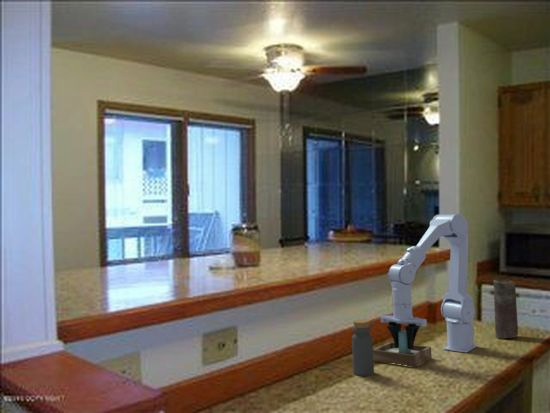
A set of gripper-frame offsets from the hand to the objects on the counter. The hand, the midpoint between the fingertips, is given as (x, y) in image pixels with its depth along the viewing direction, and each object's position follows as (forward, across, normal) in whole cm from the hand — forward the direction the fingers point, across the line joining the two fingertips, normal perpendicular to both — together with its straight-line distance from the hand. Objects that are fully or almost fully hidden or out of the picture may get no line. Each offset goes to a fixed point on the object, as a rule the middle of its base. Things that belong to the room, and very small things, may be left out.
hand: (404, 347), depth 174 cm
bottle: (+4, -4, -18) cm, 19 cm away
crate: (+4, -1, 0) cm, 4 cm away
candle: (+4, +17, +44) cm, 47 cm away
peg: (+2, 0, 0) cm, 2 cm away
